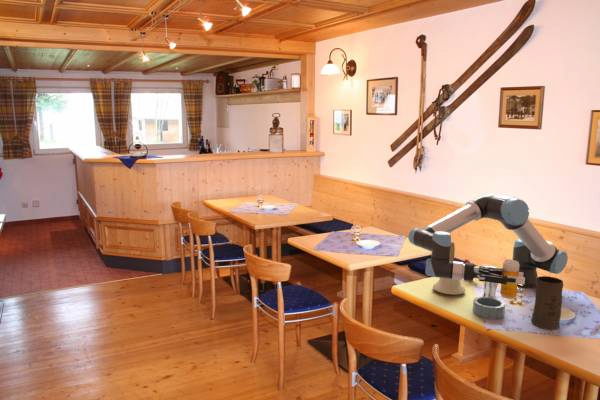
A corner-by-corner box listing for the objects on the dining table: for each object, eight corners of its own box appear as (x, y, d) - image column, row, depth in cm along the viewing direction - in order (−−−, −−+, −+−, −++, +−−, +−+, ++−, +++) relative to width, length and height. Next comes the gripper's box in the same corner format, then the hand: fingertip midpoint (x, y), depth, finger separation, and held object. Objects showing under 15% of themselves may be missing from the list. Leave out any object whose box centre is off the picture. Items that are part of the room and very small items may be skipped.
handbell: (432, 284, 251) (436, 236, 246) (464, 288, 247) (468, 239, 242) (432, 295, 236) (436, 244, 232) (465, 299, 232) (470, 247, 228)
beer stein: (566, 329, 201) (570, 282, 199) (542, 331, 199) (546, 282, 197) (542, 316, 216) (545, 272, 214) (520, 317, 215) (522, 272, 212)
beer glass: (498, 302, 229) (501, 271, 226) (482, 301, 230) (485, 270, 227) (495, 297, 236) (498, 266, 233) (480, 295, 237) (482, 265, 234)
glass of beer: (497, 294, 205) (500, 259, 203) (511, 293, 206) (514, 259, 203) (504, 299, 199) (508, 263, 197) (519, 299, 200) (522, 263, 197)
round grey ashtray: (487, 305, 225) (488, 295, 224) (509, 316, 214) (510, 305, 213) (467, 309, 220) (468, 299, 219) (488, 320, 209) (489, 309, 208)
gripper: (463, 273, 216) (520, 279, 209) (462, 287, 199) (525, 295, 191) (464, 256, 215) (522, 262, 208) (464, 269, 197) (527, 276, 190)
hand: (523, 278), depth 200 cm, fingers closed on glass of beer, 6 cm apart
